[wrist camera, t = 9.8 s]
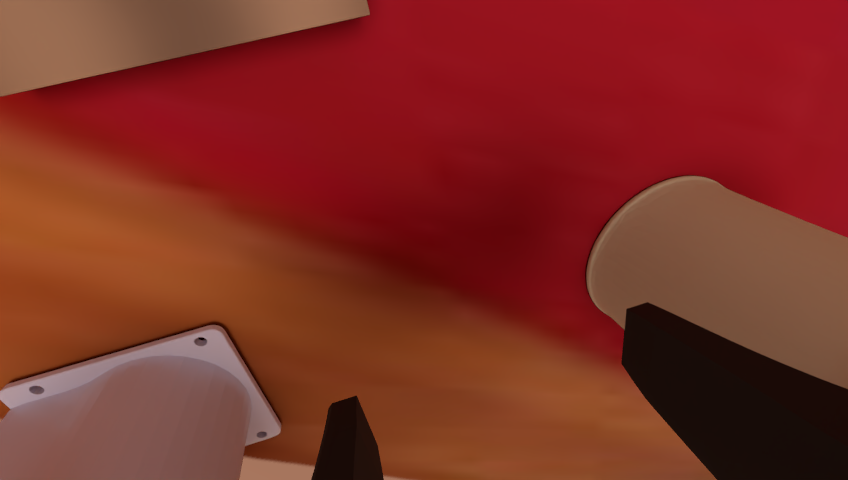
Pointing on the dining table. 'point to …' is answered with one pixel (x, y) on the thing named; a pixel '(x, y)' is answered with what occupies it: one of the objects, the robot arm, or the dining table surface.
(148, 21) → the plinth
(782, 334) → the can
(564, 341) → the dining table surface
